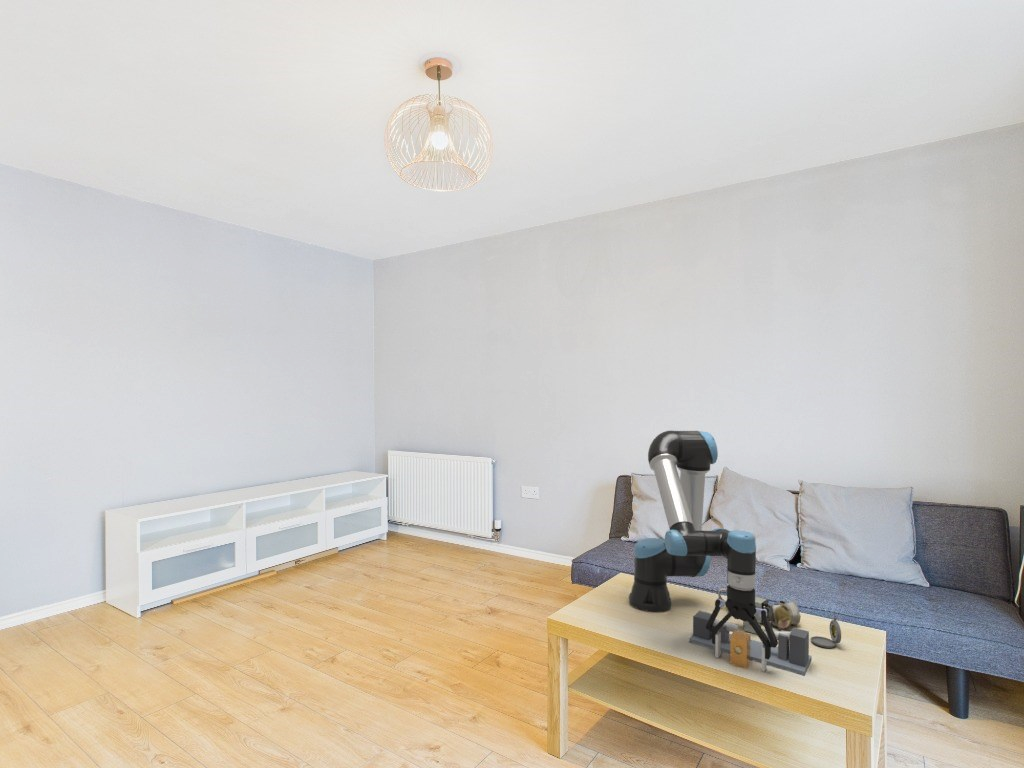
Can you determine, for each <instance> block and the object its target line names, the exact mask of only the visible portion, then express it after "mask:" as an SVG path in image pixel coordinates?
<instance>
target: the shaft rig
mask: <svg viewBox="0 0 1024 768" xmlns="http://www.w3.org/2000/svg"><path fill="white" fill-rule="evenodd" d="M711 614H712V612H711V613H710V612H706V611H702V610H698V612H696V613H695V614H694V615H693V617H692V620H693V621H692V635H691V636H690V637H688V643H692V644H695V645H699V646H702V647H706V648H709V649H712V650H715V644H713V643H712V632H711V631H710V630H707V629H706V625H707V623H708V621H709V618H710V616H711ZM721 620H722V619H721ZM721 620H720V619H717V618H716V619H715V621H714V623H713V626H714V627H715V626H716V625H717V624H718V623H719V622H720V621H721ZM734 631H739V625H738V624H736V623H732V622H729V621H727V622H726V623H725V624H724V625H723V626H722V627H721V628H720V629H719V630H718V632H721V652H723V653H726V654H729V655H730V637H731V634H732V633H733V632H734ZM763 631H764V633H765V634H766V636H767V637H768V635H767V632H766V630H763ZM773 631H774V630H773ZM730 632H731V633H730ZM809 633H810V631H809V630H805V629H800V628H797V627H792V629H791V631H788V630H786V631H784V630H779V631H776V630H775V631H774V634H775V636H776V639H777V641H778V645H777V646H776V647H775V648H774V647H771V656H770V658H769V659H767V665H768V666H770V667H774V668H776V669H781V670H785V671H788V672H792V673H795V674H798V675H802V676H805V675H806V672H807V670H808V668H809V666H810V663H811V661H812V655H809V654H810V652H809V651H810V650H809V649H810V645H809V644H810V641H809V640H810V639H809V638H810V636H809V635H810V634H809ZM768 639H769V637H768ZM762 646H763V643H762V641H757V640H754V639H751V646H750V661H754V662H756V663H761V664H762Z"/></svg>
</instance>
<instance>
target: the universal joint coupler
mask: <svg viewBox="0 0 1024 768" xmlns="http://www.w3.org/2000/svg"><path fill="white" fill-rule="evenodd" d="M730 634H731V637H730V654H729V655H730V657H729V658H730V659H729V661H730V662H729V663H730V665H733V666H737V667H740V668H744V669H747V668H748V667H749V665H750V664H751V660H750V646H751V640H752V637H751V633H745V632H742V631H739V630H738V631H734V632H731V633H730Z"/></svg>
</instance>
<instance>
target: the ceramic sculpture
mask: <svg viewBox="0 0 1024 768" xmlns="http://www.w3.org/2000/svg"><path fill="white" fill-rule="evenodd" d="M771 606H772V607H773V616H772V618H771V620H769V621H770V624H771V625H773V626H775V627H777V629H778V630H779V631H781V630H784V631H788V630H789V629H790V627H791V626H792V625H793V626H796V625H799V624H800V622H801V617H802V615H801V613H800V609H799V607H798V605H797V602H796V601H795V600H794V601H790V602H786V601H783V600H779V601H778V602H777V603H775V604H773V605H771Z"/></svg>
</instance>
